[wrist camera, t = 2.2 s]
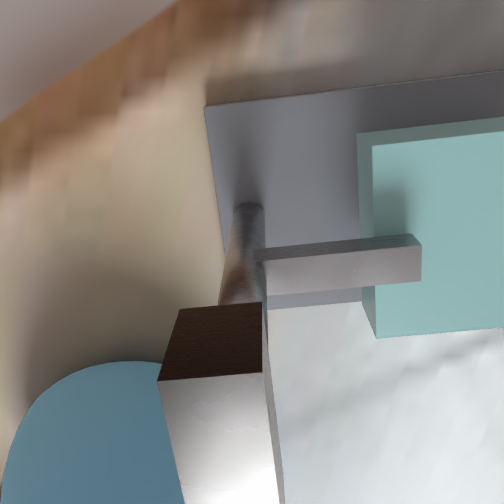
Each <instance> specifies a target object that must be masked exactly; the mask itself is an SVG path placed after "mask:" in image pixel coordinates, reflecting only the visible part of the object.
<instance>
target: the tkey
mask: <svg viewBox="0 0 504 504" xmlns="http://www.w3.org/2000/svg"><path fill="white" fill-rule="evenodd" d="M421 269H422V245H421V243H420V242H419V241H418V240H417V239H416V238H415V236H414V235H413V234H412V233H410V234H400V235H390V236H380V237H370V238H360V239H350V240H341V241H331V242H321V243H311V244H301V245H291V246H282V247H272V248H266V240H265V214H264V211H263V209H262V208H261V207H260V206H259V205H258V204H256V203H254V202H244V203H242V204H240V205H239V206H238V207H237V208H236V209H235V211H234V214H233V220H232V226H231V231H230V237H229V243H228V248H227V254H226V260H225V265H224V271H223V277H222V283H221V288H220V294H219V300H218V305H217V306H208V307H198V308H187V309H180V310H179V314H178V317H177V320H176V323H175V326H174V329H173V332H172V335H171V338H170V341H169V345H168V348H167V351H166V354H165V357H164V360H163V363H162V366H161V369H160V373H159V376H158V379H157V385H158V390H159V394H160V398H161V403H162V407H163V411H164V415H165V420H166V424H167V428H168V433H169V437H170V441H171V446H172V450H173V454H174V458H175V463H176V467H177V471H178V476H179V480H180V484H181V489H182V493H183V497H184V501H185V504H285V497H284V478H283V468H282V460H281V452H280V443H279V435H278V427H277V419H276V411H275V402H274V394H273V386H272V378H271V370H270V362H269V353H268V319H267V296H272V295H283V294H293V293H304V292H314V291H325V290H335V289H345V288H356V287H366V286H377V285H387V284H398V283H408V282H419V281H421Z"/></svg>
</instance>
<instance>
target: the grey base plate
mask: <svg viewBox="0 0 504 504" xmlns="http://www.w3.org/2000/svg"><path fill="white" fill-rule="evenodd" d="M204 115H205V122H206V128H207V135H208V142H209V149H210V155H211V162H212V169H213V175H214V182H215V189H216V196H217V202H218V209H219V216H220V222H221V229H222V236H223V243H224V249H225V256H226V254H227V248H228V243H229V237H230V231H231V226H232V220H233V214H234V211H235V209H236V208H237V207H238V206H239V205H240V204H242V203H244V202H254V203H256V204H258V205H259V206H260V207H261V208H262V209H263V211H264V214H265V240H266V248H272V247H282V246H291V245H301V244H311V243H321V242H331V241H341V240H350V239H360V225H359V195H358V165H357V135H356V134H357V133H366V132H374V131H383V130H392V129H400V128H409V127H418V126H427V125H435V124H444V123H453V122H461V121H470V120H479V119H488V118H496V117H504V70H497V71H489V72H481V73H472V74H464V75H456V76H447V77H439V78H431V79H422V80H414V81H406V82H397V83H389V84H381V85H373V86H364V87H356V88H348V89H339V90H331V91H323V92H314V93H306V94H298V95H290V96H281V97H273V98H265V99H256V100H248V101H240V102H231V103H223V104H215V105H207V106H205V107H204ZM357 301H362V287H356V288H345V289H335V290H325V291H314V292H304V293H293V294H283V295H272V296H267V310H272V309H283V308H293V307H304V306H315V305H325V304H336V303H347V302H357Z"/></svg>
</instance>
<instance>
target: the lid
mask: <svg viewBox="0 0 504 504" xmlns="http://www.w3.org/2000/svg"><path fill="white" fill-rule="evenodd" d="M356 135H357V165H358V195H359V225H360V238H370V237H380V236H390V235H400V234H410V233H412V234H413V235H414V236H415V238H416V239H417V240H418V241H419V242H420V243H421V245H422V269H421V281H419V282H408V283H398V284H387V285H377V286H366V287H362V305H363V307H364V310H365V312H366V315H367V317H368V320H369V322H370V325H371V327H372V329H373V332H374V334H375V337H376V339H378V338H389V337H400V336H412V335H423V334H434V333H445V332H457V331H468V330H479V329H490V328H502V327H504V117H496V118H488V119H479V120H470V121H461V122H453V123H444V124H435V125H427V126H418V127H409V128H400V129H392V130H383V131H374V132H366V133H357V134H356Z"/></svg>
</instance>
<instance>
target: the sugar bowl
mask: <svg viewBox="0 0 504 504" xmlns="http://www.w3.org/2000/svg"><path fill="white" fill-rule="evenodd" d="M161 366H162V364H160V363H154V362H144V361H119V362H111V363H103V364H99V365H95V366H91V367H87V368H84V369H82V370H79V371H77V372H74V373H72V374H70V375H68V376H66V377H65V378H63V379H61V380H59V381H58V382H56V383H55V384H53V385H52V386H51V387H49V388H48V389H47V390H45V391H44V392H43V393H42V394H41V395H40V396H39V397H38V398H37V399H36V400H35V401H34V403H33V404H32V406H31V407H30V409H29V410H28V411H27V413H26V415H25V417H24V418H23V420H22V422H21V424H20V426H19V428H18V430H17V432H16V434H15V437H14V440H13V442H12V445H11V448H10V451H9V455H8V458H7V462H6V466H5V470H4V474H3V481H2V488H1V502H0V504H185V501H184V497H183V493H182V489H181V484H180V480H179V476H178V471H177V467H176V463H175V458H174V454H173V450H172V446H171V441H170V437H169V433H168V428H167V424H166V420H165V415H164V411H163V407H162V403H161V398H160V394H159V390H158V385H157V379H158V376H159V373H160V369H161Z"/></svg>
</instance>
